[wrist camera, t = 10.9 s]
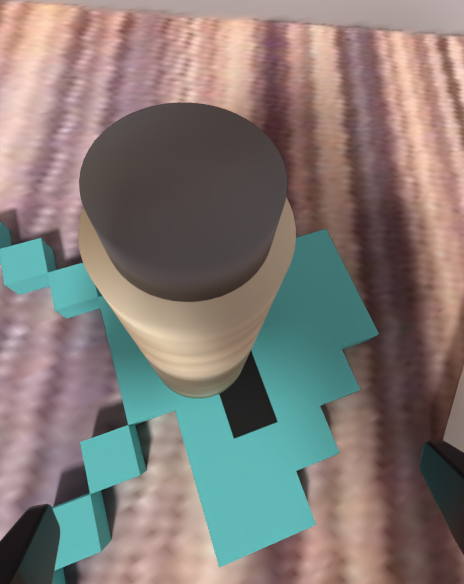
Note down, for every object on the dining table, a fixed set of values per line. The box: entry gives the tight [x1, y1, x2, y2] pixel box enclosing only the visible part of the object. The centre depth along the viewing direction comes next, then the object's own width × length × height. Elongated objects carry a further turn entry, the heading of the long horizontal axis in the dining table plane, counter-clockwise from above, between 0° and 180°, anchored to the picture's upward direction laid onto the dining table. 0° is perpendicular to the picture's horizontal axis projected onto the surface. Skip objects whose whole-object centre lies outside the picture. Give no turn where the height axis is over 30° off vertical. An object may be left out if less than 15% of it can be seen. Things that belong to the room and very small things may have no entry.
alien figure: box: [0, 221, 379, 584], centre depth 19 cm, size 20×2×20 cm
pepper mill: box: [78, 103, 296, 399], centre depth 12 cm, size 5×5×12 cm
